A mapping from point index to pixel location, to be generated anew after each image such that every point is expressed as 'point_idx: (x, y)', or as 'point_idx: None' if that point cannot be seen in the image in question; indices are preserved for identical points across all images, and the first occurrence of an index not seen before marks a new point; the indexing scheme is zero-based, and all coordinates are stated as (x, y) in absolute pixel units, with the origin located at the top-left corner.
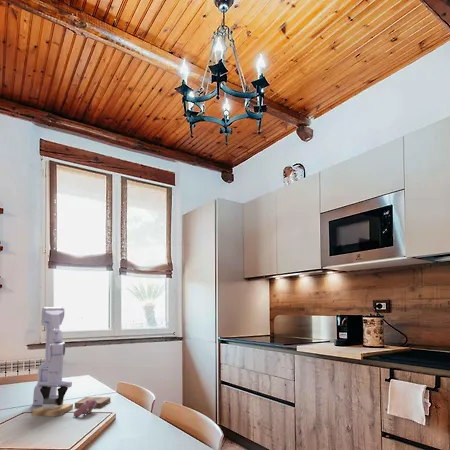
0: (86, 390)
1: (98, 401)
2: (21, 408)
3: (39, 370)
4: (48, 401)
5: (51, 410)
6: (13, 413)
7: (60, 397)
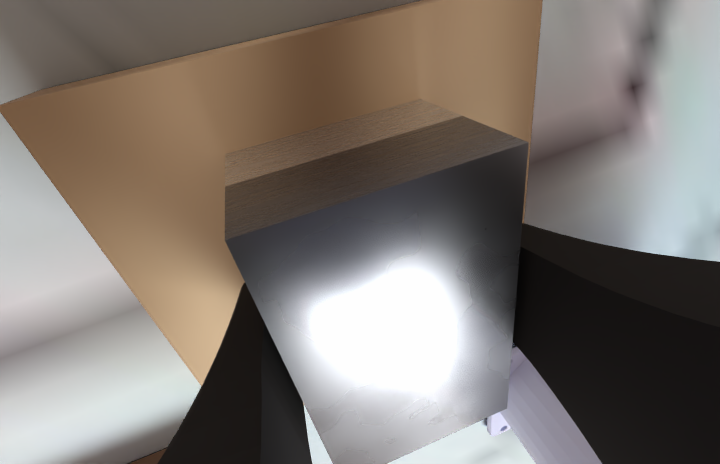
0: None
1: None
2: (677, 216)
3: None
4: (380, 164)
5: (214, 78)
6: (714, 41)
7: (206, 388)
